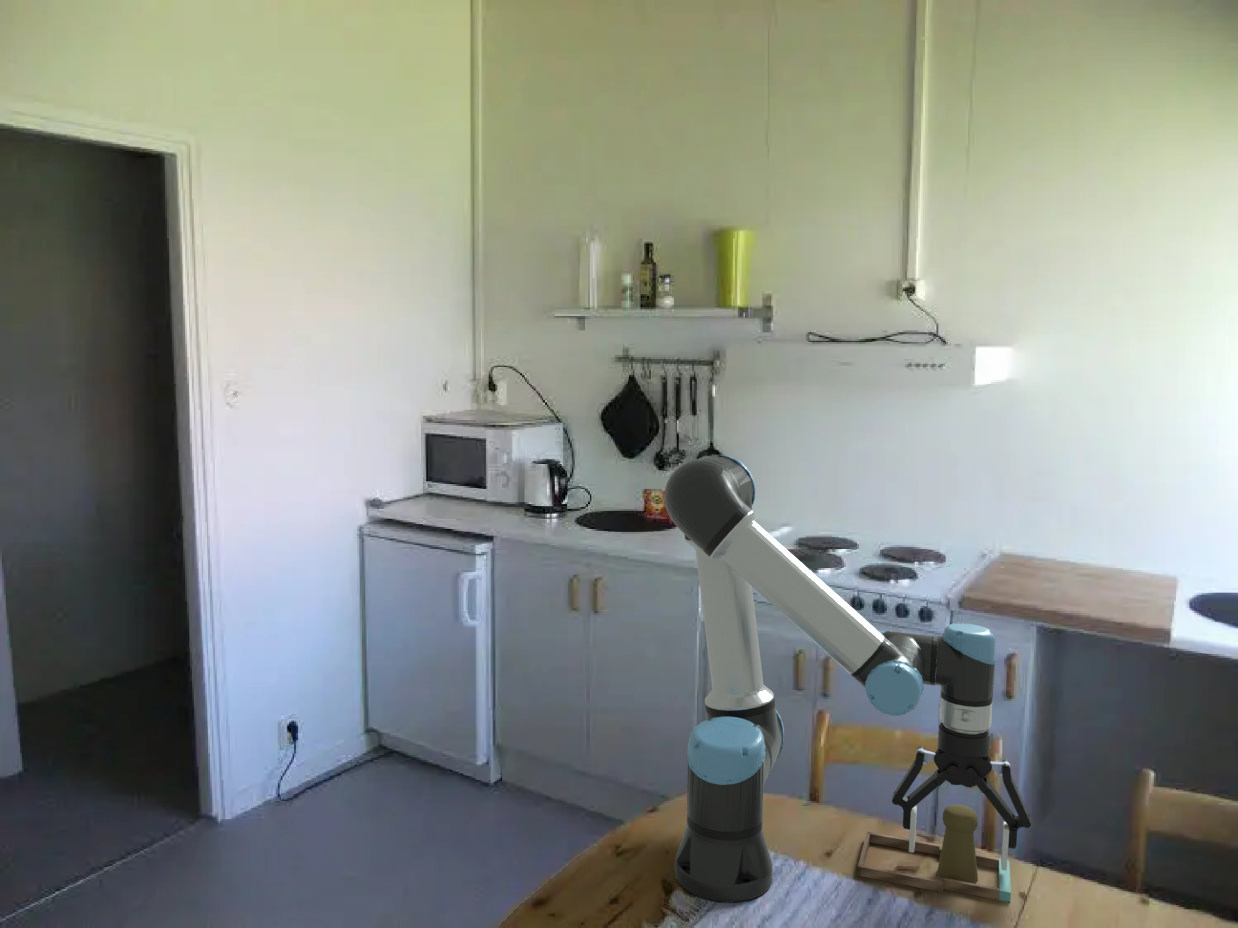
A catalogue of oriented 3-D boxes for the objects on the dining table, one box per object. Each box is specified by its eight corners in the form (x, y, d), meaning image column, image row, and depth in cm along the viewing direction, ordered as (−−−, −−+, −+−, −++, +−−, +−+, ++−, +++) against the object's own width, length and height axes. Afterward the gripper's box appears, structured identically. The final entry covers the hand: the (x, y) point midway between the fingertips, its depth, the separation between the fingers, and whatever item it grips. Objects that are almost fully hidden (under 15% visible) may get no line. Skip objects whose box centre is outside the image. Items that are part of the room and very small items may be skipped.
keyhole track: (857, 875, 147) (857, 866, 147) (866, 840, 159) (867, 831, 158) (1010, 905, 139) (1010, 896, 139) (1008, 866, 151) (1009, 857, 150)
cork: (981, 888, 144) (984, 819, 143) (939, 883, 145) (943, 815, 144) (974, 868, 150) (977, 801, 149) (934, 863, 151) (937, 797, 150)
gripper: (878, 721, 146) (872, 852, 148) (1055, 747, 137) (1045, 886, 140) (883, 706, 153) (877, 831, 155) (1051, 729, 144) (1042, 862, 146)
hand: (957, 857), depth 147 cm, fingers open, 13 cm apart
